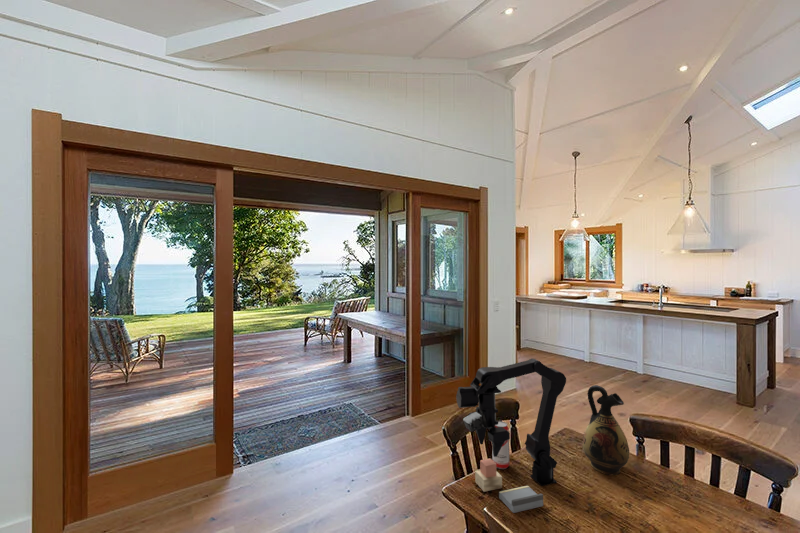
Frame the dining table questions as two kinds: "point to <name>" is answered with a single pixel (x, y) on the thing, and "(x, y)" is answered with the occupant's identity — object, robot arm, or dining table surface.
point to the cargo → (488, 467)
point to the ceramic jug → (605, 435)
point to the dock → (521, 499)
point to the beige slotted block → (488, 481)
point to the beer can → (502, 450)
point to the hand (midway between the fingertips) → (488, 450)
